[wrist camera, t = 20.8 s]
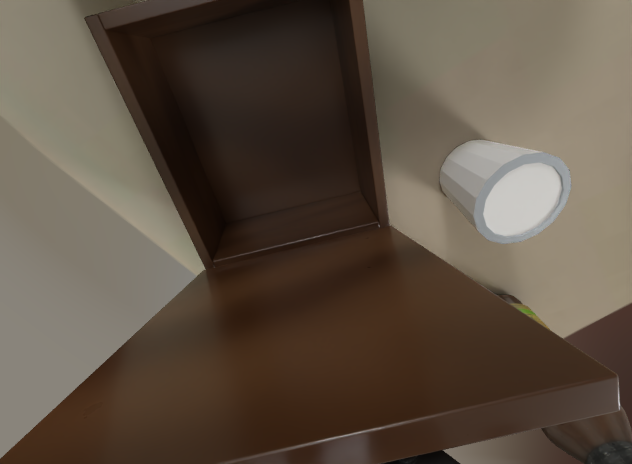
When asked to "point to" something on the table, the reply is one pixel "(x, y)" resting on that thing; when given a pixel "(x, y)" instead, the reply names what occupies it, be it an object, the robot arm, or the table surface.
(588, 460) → the sauce bottle
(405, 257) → the chest lid
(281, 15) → the chest
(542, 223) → the shot glass
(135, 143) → the table surface
